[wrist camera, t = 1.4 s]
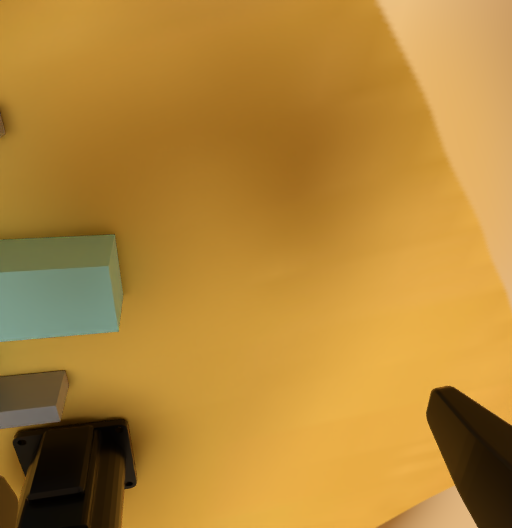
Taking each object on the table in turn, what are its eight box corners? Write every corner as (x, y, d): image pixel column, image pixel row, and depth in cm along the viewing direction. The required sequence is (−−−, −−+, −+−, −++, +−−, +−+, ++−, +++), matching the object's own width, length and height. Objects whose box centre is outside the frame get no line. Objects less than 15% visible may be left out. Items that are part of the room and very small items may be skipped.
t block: (130, 349, 24) (127, 389, 21) (-69, 368, 22) (-98, 414, 20) (104, 156, 18) (95, 179, 16) (-166, 160, 17) (-224, 187, 14)
